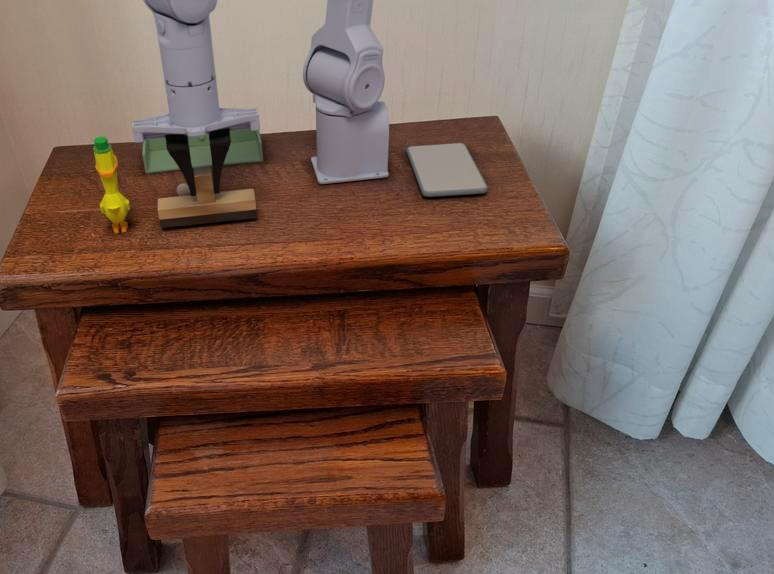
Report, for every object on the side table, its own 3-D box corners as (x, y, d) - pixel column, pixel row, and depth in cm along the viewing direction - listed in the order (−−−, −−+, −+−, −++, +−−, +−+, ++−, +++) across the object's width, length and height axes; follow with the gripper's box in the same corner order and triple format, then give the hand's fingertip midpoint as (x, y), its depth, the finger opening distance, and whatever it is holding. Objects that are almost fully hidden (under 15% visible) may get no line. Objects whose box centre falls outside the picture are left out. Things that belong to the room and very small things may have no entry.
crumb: (190, 193, 103) (189, 180, 102) (191, 199, 101) (189, 186, 100) (177, 194, 103) (175, 181, 102) (177, 200, 101) (175, 188, 100)
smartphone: (464, 142, 108) (489, 188, 96) (464, 148, 108) (488, 195, 97) (405, 145, 108) (423, 192, 96) (405, 152, 108) (422, 200, 97)
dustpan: (263, 161, 109) (261, 142, 107) (145, 173, 108) (142, 154, 107) (257, 135, 116) (256, 116, 114) (147, 146, 116) (144, 128, 114)
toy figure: (106, 217, 99) (86, 126, 91) (134, 214, 99) (116, 123, 91) (106, 243, 94) (84, 149, 86) (135, 239, 94) (116, 145, 86)
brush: (255, 207, 97) (251, 161, 93) (257, 218, 95) (253, 171, 91) (161, 217, 97) (153, 171, 93) (160, 228, 95) (152, 182, 91)
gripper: (123, 97, 82) (145, 212, 90) (258, 84, 82) (266, 199, 91) (126, 75, 87) (146, 186, 96) (252, 62, 87) (261, 174, 96)
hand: (205, 191), depth 94 cm, fingers closed on brush, 2 cm apart
